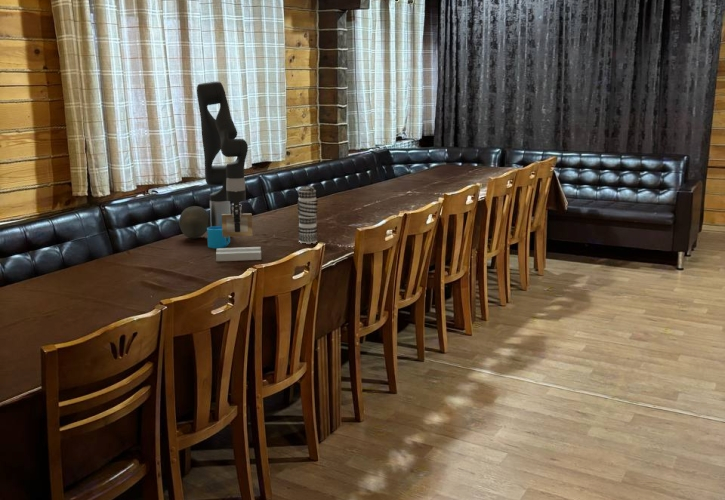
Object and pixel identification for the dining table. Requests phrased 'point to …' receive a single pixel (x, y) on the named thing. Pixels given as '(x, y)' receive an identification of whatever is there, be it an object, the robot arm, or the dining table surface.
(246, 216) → the picture frame
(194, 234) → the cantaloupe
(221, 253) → the notched stand
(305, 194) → the decorative candle
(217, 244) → the mug
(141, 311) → the dining table surface
